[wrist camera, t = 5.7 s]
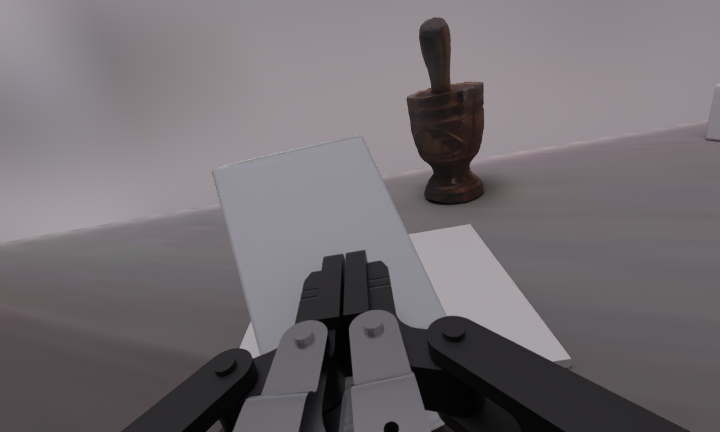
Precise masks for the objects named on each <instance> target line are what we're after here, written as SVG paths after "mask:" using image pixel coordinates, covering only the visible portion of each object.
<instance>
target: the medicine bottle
mask: <svg viewBox="0 0 720 432" xmlns="http://www.w3.org/2000/svg"><path fill="white" fill-rule="evenodd" d="M706 139H707V140H714V141H720V84H717V85H716V86H715V90H714V96H713V101H712V106H711V111H710V116H709V122H708V127H707V132H706Z"/></svg>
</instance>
